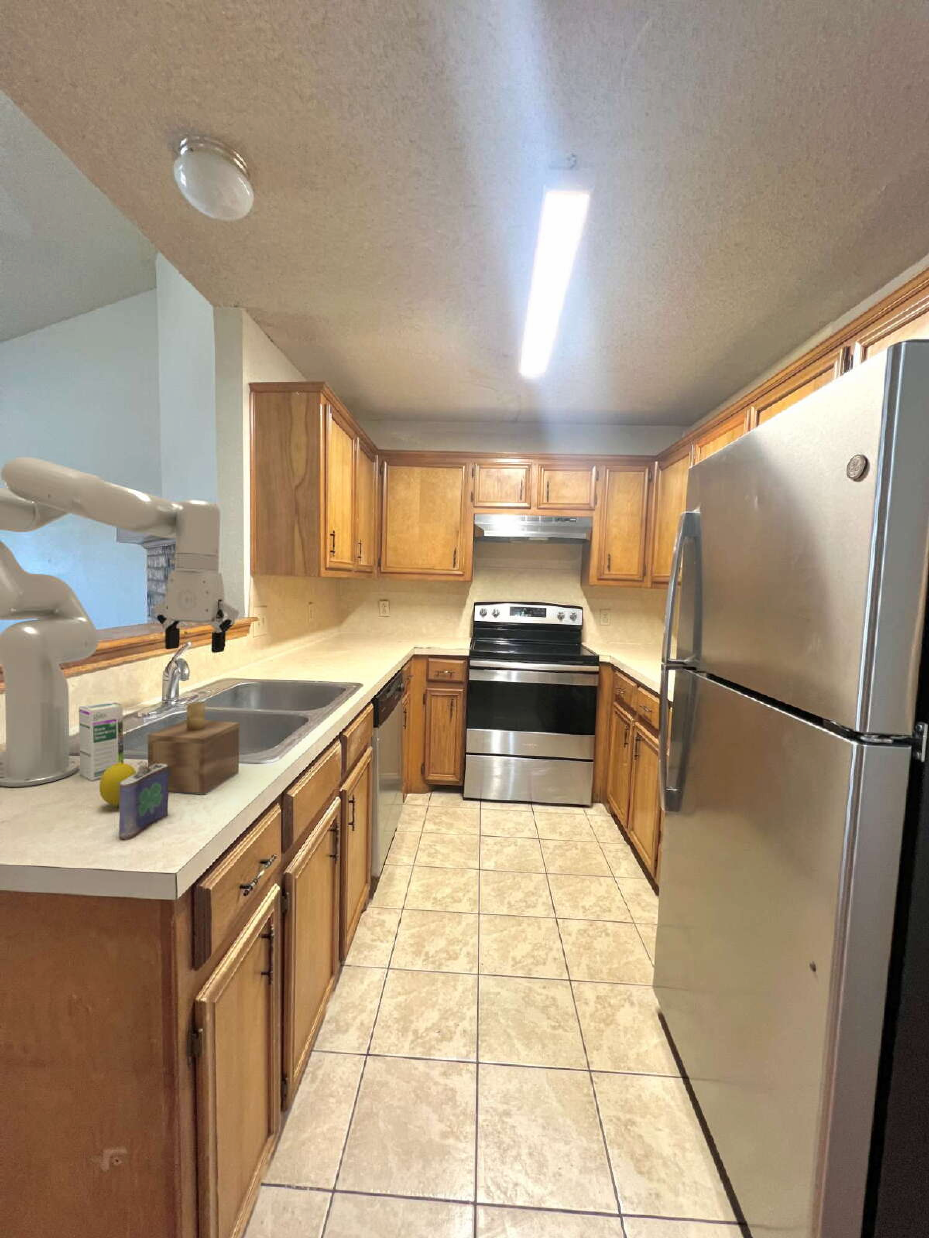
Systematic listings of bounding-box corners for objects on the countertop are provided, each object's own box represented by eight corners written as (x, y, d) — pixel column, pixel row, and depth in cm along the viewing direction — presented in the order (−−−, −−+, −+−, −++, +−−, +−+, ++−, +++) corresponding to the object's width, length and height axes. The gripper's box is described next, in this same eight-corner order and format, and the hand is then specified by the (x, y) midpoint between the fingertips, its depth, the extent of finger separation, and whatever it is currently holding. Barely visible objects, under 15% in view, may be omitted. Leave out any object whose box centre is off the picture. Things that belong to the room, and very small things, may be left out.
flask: (129, 840, 74) (129, 773, 73) (112, 839, 74) (111, 771, 73) (172, 813, 83) (172, 753, 82) (157, 812, 83) (157, 752, 82)
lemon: (118, 815, 81) (117, 769, 81) (91, 811, 83) (91, 765, 82) (145, 801, 87) (145, 758, 86) (120, 797, 88) (120, 755, 87)
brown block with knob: (147, 788, 91) (147, 709, 90) (188, 766, 103) (188, 696, 102) (204, 793, 90) (204, 712, 89) (238, 770, 102) (239, 699, 101)
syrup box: (91, 781, 95) (90, 709, 94) (79, 774, 98) (78, 705, 97) (124, 772, 99) (123, 704, 99) (111, 766, 102) (110, 700, 102)
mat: (151, 790, 92) (151, 788, 92) (189, 769, 103) (189, 767, 102) (205, 794, 91) (205, 792, 91) (238, 772, 101) (238, 771, 101)
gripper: (142, 560, 91) (140, 649, 92) (227, 565, 90) (224, 655, 90) (170, 563, 99) (168, 645, 100) (249, 568, 97) (246, 651, 98)
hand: (195, 650), depth 95 cm, fingers open, 9 cm apart
